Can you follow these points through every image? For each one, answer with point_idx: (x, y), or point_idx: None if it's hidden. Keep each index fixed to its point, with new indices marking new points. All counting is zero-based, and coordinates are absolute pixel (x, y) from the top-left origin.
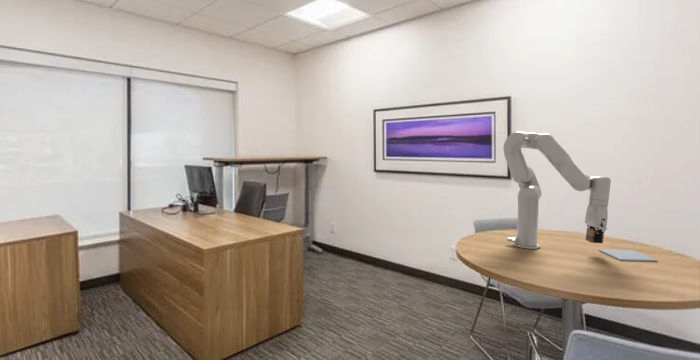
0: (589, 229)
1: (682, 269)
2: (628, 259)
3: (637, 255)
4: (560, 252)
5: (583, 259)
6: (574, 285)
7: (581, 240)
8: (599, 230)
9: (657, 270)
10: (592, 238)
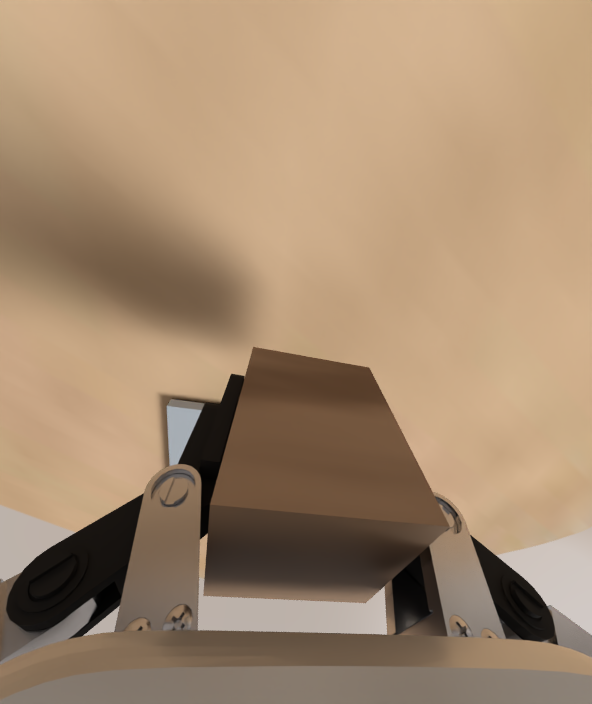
0: (352, 500)
1: (87, 518)
2: (168, 437)
3: None
4: (428, 111)
5: (191, 172)
6: None
7: (539, 470)
8: (75, 565)
9: (31, 444)
10: (244, 381)
